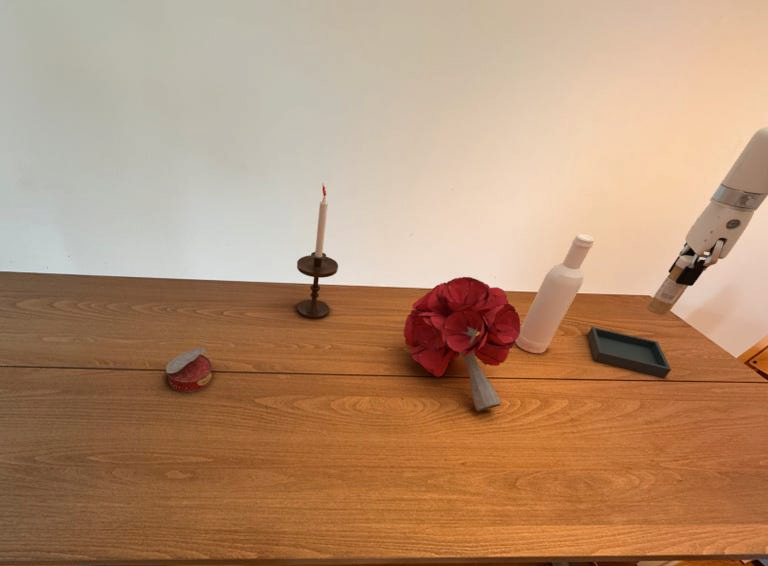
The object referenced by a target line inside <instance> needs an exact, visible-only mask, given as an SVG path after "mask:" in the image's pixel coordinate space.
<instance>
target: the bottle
mask: <svg viewBox="0 0 768 566" xmlns="http://www.w3.org/2000/svg"><path fill="white" fill-rule="evenodd" d="M594 242H595V238H594V237H593V236H591V235H590V234H589V235H588V234H585V233H579V234H577V235H576V236H575V237H574V239H573V240H572V242H571V243H572V244H571V246H570V248H569V249H568V252H567V254H566V256H565V257H564V260H563V261H562V263H558V264H556V265H554V266H553V267H551V269H550V270H548V271H547V273H546V274H545V276H544V278H543V280H542V282H541V284H540V287H539V288H538V291H537V293H536V294H535V297H534V299H533V301H532V303H531V305H530V307H529V309H528V311H527V313H526V315H525V318H524V319H523V321H522V324H521V325H520V334H519V337H518V338H517V339H516V340H515V341H516V344H515V345H516V346H518V347H519V348H520V350H523V351H526V352H528V353H531V354H532V353H533V354H542V353H544V352H546V350H547V349H548V347H549V346H550V344H551V342H552V340H553V338H554V336H555V334H556V332H557V331H558V328H559V327H560V325H561V324H562V321H564V320H563V319H565V316H566V314H567V313H568V311H569V309H570V307H571V305H572V303H573V302H574V300H575V298H576V296H577V294H578V292H579V291H580V289H581V287H582V286H583V283H584V272H583V271H582V270H581V266H582V264H583V263H584V261H585V258H586V257H587V255H588V253H589V251H590V249H591V248H592V247H593V246H594Z"/></svg>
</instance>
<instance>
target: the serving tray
mask: <svg viewBox="0 0 768 566" xmlns="http://www.w3.org/2000/svg"><path fill="white" fill-rule="evenodd" d="M586 336H587V340H588V344H589V347H590V352H591V355H592V357H593V361H594V362H597V363H601V364H605V365H610V366H613V367H616V368H617V367H618V368H622V369H626V370H630V371H634V372H638V373H642V374H647V375H649V376H654V377H659V378H663V379H665V378H666V377H667V375H668V374H669V373H670V372H671V371H672V368H671V366H670V364H669V362H668V360H667V358H666V356H665V354H664V352H663V349H662V348H661V345H660V344H659V341H657V340H653V339H649V338H643V337H639V336H634V335H630V334H625V333H621V332H617V331H613V330H608V329H604V328H599V327H595V326H591V327H590V329H589V331H588V332H587V334H586Z"/></svg>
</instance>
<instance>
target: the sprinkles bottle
mask: <svg viewBox="0 0 768 566" xmlns="http://www.w3.org/2000/svg"><path fill="white" fill-rule="evenodd" d="M692 259H693V256H687V255H684V256H681V257H680V258H679V259H678V261H677V262H676V265H675V267H674V268H673V270H672V271H671V273H669V274H668V275H667V276H666V278H665V279H664V281H663V282H662V284H661V285H660V287H658V289H657V291H656V292H655V294H654V295H653V297H652V299H651V300H650V301H649V303H647V305H646V309H647V310H648V311H650V313H653V314H655V315H660V316H667V315H669V313H670V311H671V310H672V309H673V307H674V306H675V305H676V303H677V302H678V301H679V300H680V298H681V297H682V296H683V294H684V293H685V291H686V289H687V288H688V287H689V286H687V285H682V284H677V283H676V282H675V281H676V279H677V278H678V277H679V275H680V274H681V272H682V271H683V270H684V268H685V267H686V266H689V264H690V263H691V261H692ZM700 260H702V258H699V259H698V261H700ZM698 261H697V262H698Z"/></svg>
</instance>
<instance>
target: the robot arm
mask: <svg viewBox="0 0 768 566" xmlns="http://www.w3.org/2000/svg"><path fill="white" fill-rule="evenodd" d="M767 197H768V126H764V127H761V128H760V129H758V130H757V131H756V132H755V133H754V134H753V135H752V137H750V139H749V141H748V142H747V144H746V145H745V147H743V150H742V151H741V153H740V154H739V156H738V157H737V159H735V162H734V163H733V164H732V166H731V167H730V169H729V170H728V172H727V173H726V175H725V176H724V178H723V179H722V181H721V182H720V184H719V185H718V187H717V188H716V190H715V191H714V193H713V194H712V196H711V197H710V199H709V201H710V202H709V203H708V205H707V206H706V207H705V208H704V210H703V211H702V212H701V213H700V214H699V216H698V217H697V219H696V220H695V222H694V223H693V225H692V226H691V227H690V229H689V230H688V231H687V234H686V236H685V244H683V248H682V249H681V250H680V252H679V254H678V256H677V258H676V259H675V260H674V261H673V264H672V265H671V267H670V268H669V270H668V273H669V274H670V273H671V271H672V270H673V268H674V267H675V265H676V262H677V261H678V259H679V258H680V257H681V256H684V255H687V256H693V259H692V261H691V263H690V264H689V266H686V267H685V268H684V270H683V271H682V272H681V274H680V275H679V277H678V278H677V279H676V281H675V282H676V283H677V284H682V285H687V286H688V287H692V286H694V285H695V283H696V282H697V280H698V279H699V278H700V277H701V275H702V274H703V272H705V271H706V270H707V269H708V268H709V267H711V266H713V265H716V264H717V263H718V262H719V260H723V259H725V258H726V257H727V256H728V255H730V252H731V251H732V250H733V248H734V247H735V245H736V244H737V242H738V241H739V240H740V238H741V236H743V233H744V232H745V230H746V229H747V228H748V226H749V223H750V222H751V220H752V218H753V217H754V214H755V212H756V211H757V210H758V209H759V208H760V207H761V205H762V204H763V202H764V201H765V200H766V198H767ZM706 253H708V254H706ZM701 258H703V259H701ZM704 258H705V259H704ZM698 259H701V260H700V261H698ZM697 261H698V262H697Z"/></svg>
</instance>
